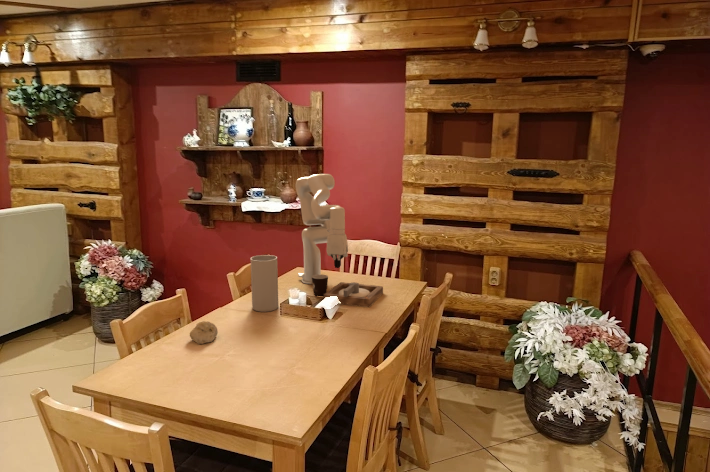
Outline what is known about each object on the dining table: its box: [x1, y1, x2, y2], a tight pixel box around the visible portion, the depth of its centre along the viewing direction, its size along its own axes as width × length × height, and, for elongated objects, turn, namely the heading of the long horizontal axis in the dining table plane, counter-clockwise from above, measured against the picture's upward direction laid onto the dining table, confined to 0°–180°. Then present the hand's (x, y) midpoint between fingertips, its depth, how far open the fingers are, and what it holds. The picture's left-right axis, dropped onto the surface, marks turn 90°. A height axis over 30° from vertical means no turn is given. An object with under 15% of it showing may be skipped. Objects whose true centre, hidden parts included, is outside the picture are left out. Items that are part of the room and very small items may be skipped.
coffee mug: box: [312, 273, 329, 297], centre depth 266 cm, size 12×9×10 cm
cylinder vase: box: [250, 254, 279, 313], centre depth 242 cm, size 12×12×25 cm
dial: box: [339, 282, 370, 297], centre depth 257 cm, size 21×16×6 cm
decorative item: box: [189, 321, 219, 345], centre depth 205 cm, size 12×9×10 cm
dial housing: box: [323, 281, 384, 308], centre depth 260 cm, size 24×24×4 cm
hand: (337, 267), depth 254 cm, fingers closed
